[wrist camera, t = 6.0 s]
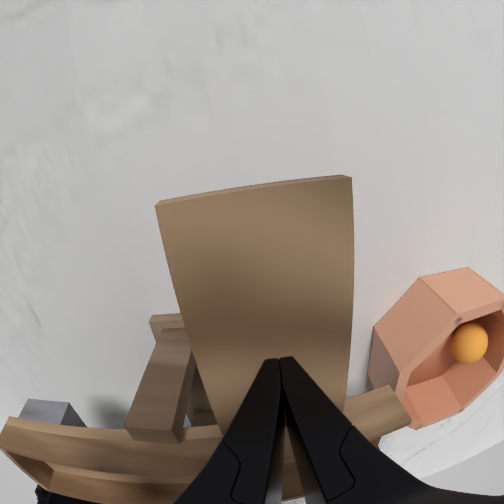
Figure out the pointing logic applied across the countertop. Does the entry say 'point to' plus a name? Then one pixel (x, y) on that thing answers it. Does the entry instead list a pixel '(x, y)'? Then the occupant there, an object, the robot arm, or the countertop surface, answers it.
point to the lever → (226, 338)
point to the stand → (169, 387)
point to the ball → (469, 343)
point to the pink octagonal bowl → (437, 345)
